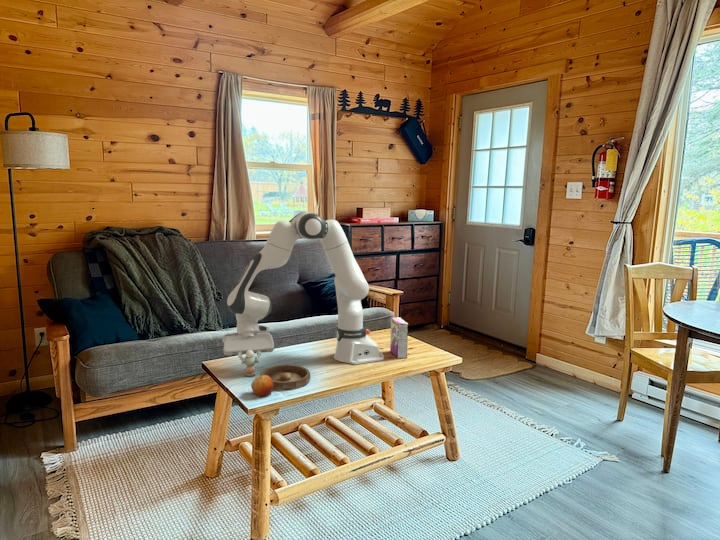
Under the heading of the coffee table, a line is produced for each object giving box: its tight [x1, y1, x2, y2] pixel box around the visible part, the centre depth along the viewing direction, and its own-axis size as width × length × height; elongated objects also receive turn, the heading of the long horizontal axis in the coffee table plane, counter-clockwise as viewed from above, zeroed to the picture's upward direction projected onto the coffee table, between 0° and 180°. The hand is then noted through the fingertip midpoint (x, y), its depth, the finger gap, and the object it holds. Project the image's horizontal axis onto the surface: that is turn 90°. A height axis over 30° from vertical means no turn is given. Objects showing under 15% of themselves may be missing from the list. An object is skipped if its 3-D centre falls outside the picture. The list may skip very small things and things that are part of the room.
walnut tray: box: [259, 364, 311, 391], centre depth 196 cm, size 19×19×3 cm
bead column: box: [244, 350, 256, 378], centre depth 200 cm, size 4×4×10 cm
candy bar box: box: [389, 317, 409, 360], centre depth 229 cm, size 11×5×16 cm, turn 14°
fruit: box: [250, 375, 274, 398], centre depth 182 cm, size 8×8×8 cm
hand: (250, 362), depth 199 cm, fingers closed on bead column, 4 cm apart
